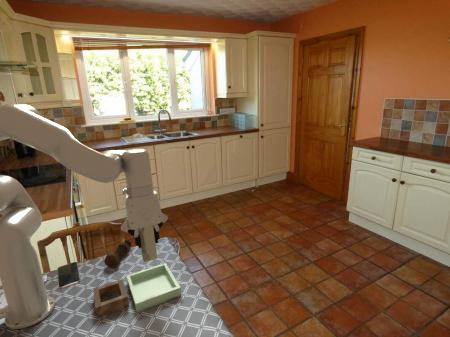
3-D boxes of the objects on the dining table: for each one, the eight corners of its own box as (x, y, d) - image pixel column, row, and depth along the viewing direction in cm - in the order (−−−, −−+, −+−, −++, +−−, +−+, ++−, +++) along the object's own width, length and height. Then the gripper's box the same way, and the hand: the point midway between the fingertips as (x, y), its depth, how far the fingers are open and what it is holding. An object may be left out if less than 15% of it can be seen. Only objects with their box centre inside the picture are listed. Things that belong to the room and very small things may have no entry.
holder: (97, 318, 81) (95, 307, 80) (94, 297, 90) (93, 288, 89) (129, 306, 85) (127, 296, 84) (123, 287, 94) (122, 278, 93)
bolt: (130, 251, 121) (113, 270, 106) (120, 245, 121) (102, 264, 106) (135, 240, 119) (119, 259, 105) (125, 235, 119) (107, 252, 105)
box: (142, 254, 91) (136, 219, 88) (155, 251, 93) (150, 216, 90) (144, 263, 86) (138, 225, 83) (158, 259, 88) (152, 222, 85)
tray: (136, 312, 83) (135, 304, 82) (127, 283, 96) (126, 275, 96) (181, 295, 89) (180, 287, 88) (166, 270, 103) (165, 262, 102)
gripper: (112, 199, 77) (122, 257, 81) (171, 187, 85) (177, 241, 89) (109, 192, 83) (118, 246, 88) (164, 181, 91) (169, 232, 96)
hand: (147, 243), depth 88 cm, fingers closed on box, 4 cm apart
